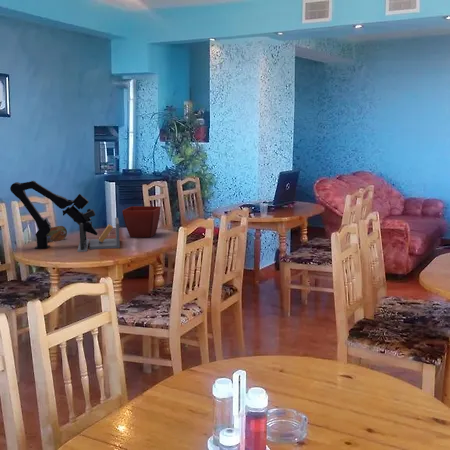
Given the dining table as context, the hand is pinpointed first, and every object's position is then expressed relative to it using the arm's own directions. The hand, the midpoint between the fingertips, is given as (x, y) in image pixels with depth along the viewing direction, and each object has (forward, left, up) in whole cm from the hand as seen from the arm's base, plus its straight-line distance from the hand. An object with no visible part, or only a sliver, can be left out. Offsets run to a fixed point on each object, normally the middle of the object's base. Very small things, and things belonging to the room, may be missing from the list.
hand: (97, 234), depth 339 cm
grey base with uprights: (+1, -4, -6) cm, 7 cm away
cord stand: (-2, +7, -6) cm, 10 cm away
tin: (+13, +29, -6) cm, 32 cm away
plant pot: (+30, -19, -6) cm, 37 cm away
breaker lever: (0, -1, -4) cm, 4 cm away
